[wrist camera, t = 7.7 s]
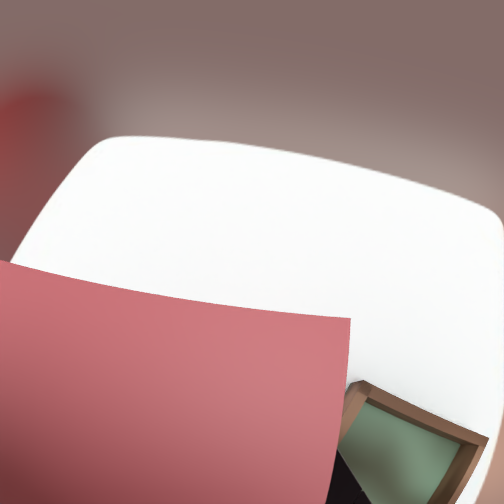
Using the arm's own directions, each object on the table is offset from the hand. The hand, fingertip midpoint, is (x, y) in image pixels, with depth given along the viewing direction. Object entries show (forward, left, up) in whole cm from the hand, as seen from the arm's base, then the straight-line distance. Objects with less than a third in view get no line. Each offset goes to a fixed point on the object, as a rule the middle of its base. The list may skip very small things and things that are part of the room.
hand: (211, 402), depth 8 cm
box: (-1, -12, -12) cm, 17 cm away
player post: (-1, -1, -7) cm, 7 cm away
